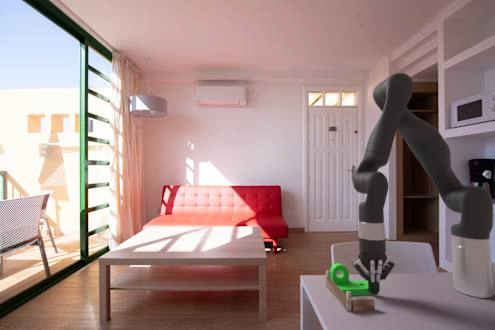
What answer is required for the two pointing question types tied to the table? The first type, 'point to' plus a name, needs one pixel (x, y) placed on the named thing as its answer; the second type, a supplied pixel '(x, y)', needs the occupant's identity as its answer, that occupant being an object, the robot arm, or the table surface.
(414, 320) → the table surface
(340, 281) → the mechanical part
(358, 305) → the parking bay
